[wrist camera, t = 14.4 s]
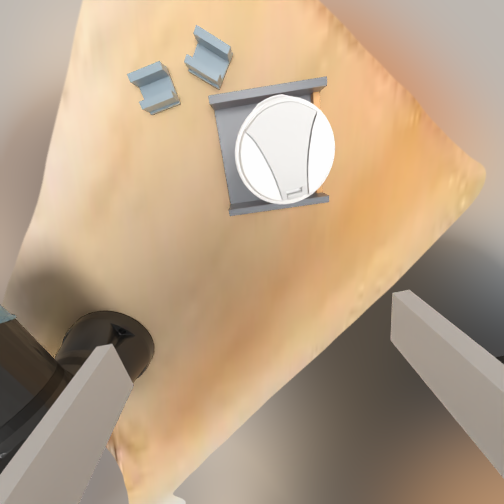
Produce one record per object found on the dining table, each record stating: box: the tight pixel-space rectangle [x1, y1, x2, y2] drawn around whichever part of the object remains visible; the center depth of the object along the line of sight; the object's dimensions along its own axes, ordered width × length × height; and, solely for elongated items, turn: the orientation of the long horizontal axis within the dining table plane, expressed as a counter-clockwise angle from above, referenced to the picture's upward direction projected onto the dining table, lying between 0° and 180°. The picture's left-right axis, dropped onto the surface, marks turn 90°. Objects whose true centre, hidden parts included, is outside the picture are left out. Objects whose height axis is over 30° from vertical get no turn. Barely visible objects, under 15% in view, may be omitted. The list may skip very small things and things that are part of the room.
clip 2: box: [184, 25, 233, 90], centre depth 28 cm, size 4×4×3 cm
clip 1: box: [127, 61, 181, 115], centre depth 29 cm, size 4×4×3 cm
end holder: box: [208, 77, 329, 216], centre depth 31 cm, size 13×14×5 cm
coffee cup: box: [235, 94, 335, 204], centre depth 25 cm, size 8×8×15 cm
